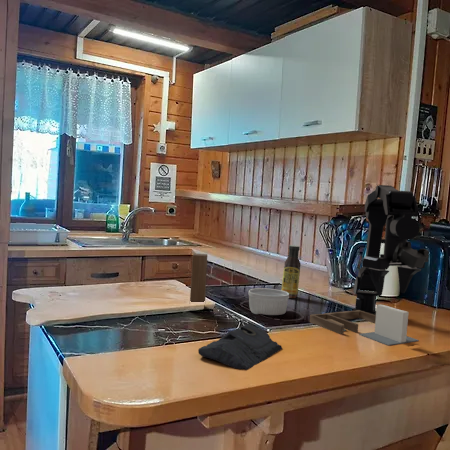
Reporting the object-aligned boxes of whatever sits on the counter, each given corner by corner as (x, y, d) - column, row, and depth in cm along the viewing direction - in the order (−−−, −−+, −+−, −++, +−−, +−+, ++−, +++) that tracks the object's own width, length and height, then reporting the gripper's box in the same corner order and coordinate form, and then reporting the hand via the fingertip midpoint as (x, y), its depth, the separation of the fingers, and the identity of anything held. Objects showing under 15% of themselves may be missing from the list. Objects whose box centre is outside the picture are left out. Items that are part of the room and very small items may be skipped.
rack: (358, 319, 149) (359, 310, 149) (391, 330, 138) (392, 320, 138) (309, 324, 139) (310, 314, 139) (340, 337, 128) (341, 326, 127)
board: (379, 332, 131) (381, 304, 131) (405, 341, 123) (408, 312, 123) (374, 333, 130) (376, 304, 130) (400, 342, 122) (403, 312, 122)
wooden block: (191, 305, 155) (194, 251, 154) (204, 306, 154) (208, 252, 154) (189, 311, 146) (192, 254, 145) (203, 312, 146) (206, 255, 145)
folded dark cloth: (186, 358, 105) (187, 338, 104) (232, 336, 124) (233, 319, 124) (246, 374, 97) (247, 352, 97) (286, 348, 116) (287, 329, 116)
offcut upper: (330, 324, 138) (331, 319, 137) (343, 329, 132) (344, 324, 132) (322, 324, 136) (322, 319, 136) (335, 330, 131) (335, 325, 131)
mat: (388, 333, 134) (389, 329, 134) (418, 343, 126) (418, 340, 126) (358, 337, 128) (359, 333, 128) (387, 348, 120) (388, 344, 120)
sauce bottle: (280, 297, 175) (283, 245, 174) (281, 294, 181) (285, 244, 180) (297, 299, 174) (301, 247, 173) (298, 296, 180) (302, 245, 179)
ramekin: (258, 306, 160) (259, 286, 159) (294, 312, 153) (295, 292, 153) (239, 313, 148) (241, 291, 148) (277, 320, 142) (279, 298, 141)
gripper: (397, 239, 114) (392, 302, 115) (444, 240, 124) (439, 298, 124) (363, 235, 124) (358, 293, 125) (409, 236, 133) (404, 289, 134)
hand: (391, 293), depth 127 cm, fingers open, 9 cm apart
